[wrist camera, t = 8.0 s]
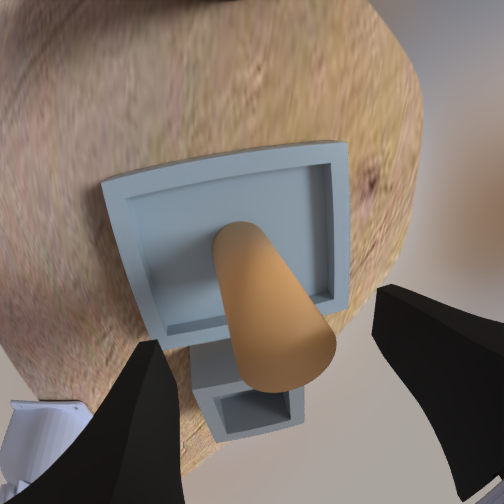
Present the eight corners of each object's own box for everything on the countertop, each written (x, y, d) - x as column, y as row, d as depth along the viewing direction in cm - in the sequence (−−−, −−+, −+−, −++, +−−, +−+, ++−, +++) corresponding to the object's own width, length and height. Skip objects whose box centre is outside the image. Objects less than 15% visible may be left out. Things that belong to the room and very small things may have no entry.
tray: (157, 331, 18) (155, 351, 16) (111, 176, 14) (100, 182, 12) (334, 292, 20) (348, 308, 18) (329, 140, 15) (346, 142, 14)
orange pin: (217, 278, 16) (245, 401, 9) (207, 227, 15) (229, 332, 7) (270, 267, 17) (333, 377, 9) (264, 216, 15) (338, 305, 8)
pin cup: (210, 403, 22) (216, 442, 18) (189, 346, 19) (191, 390, 15) (289, 386, 23) (304, 422, 19) (284, 325, 20) (303, 365, 16)
